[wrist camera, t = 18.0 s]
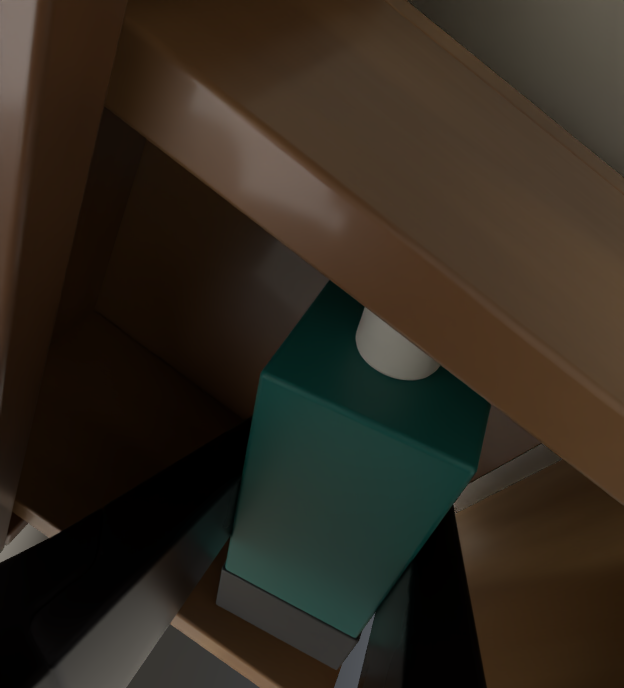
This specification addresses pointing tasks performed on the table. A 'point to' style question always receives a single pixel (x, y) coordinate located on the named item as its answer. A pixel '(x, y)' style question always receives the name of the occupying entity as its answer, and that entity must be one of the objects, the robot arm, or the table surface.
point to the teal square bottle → (343, 475)
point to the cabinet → (42, 191)
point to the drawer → (360, 283)
